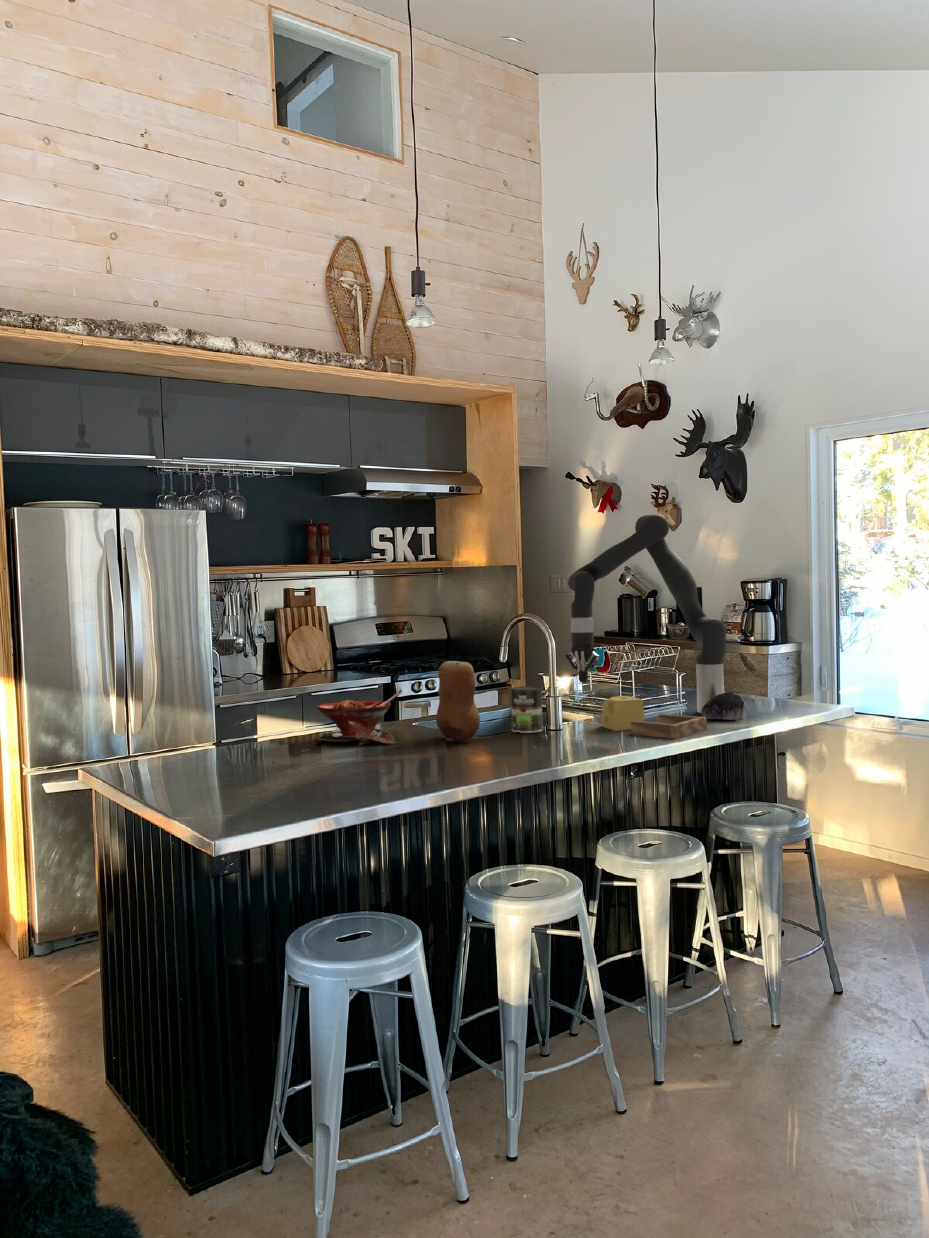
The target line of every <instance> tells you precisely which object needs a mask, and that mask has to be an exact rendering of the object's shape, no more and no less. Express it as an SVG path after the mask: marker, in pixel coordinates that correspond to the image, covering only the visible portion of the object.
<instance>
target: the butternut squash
mask: <svg viewBox="0 0 929 1238" xmlns="http://www.w3.org/2000/svg"><path fill="white" fill-rule="evenodd" d="M437 675H438V680H439V682H438V684H439V686H438V691H437V693H438V697H439V699H438V701H439V704H438V706H437V707H438V708H437V711H436V716H435V723H436V726H437V728H438V729H439V732H440V734H442V736H444V737H445V738H447V739H452V740H454V741H455V740H456V742H465V741H466V740H468V739H471V738H473V737H474V736H475V735H476V734H477V731H478V730H479V729H480V725H481V724H480V723H481V717H480V713H479V710H478V708H477V706H476V703H475V691H476V679H475V671H474V667H473V666H472V664H471V663H470V662H466V661H457V660H452V661H451V660H447V661H444V662H443V663H442V664H441V665H440V667H439V669H438V673H437ZM464 740H465V741H464Z"/></svg>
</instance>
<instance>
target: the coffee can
mask: <svg viewBox="0 0 929 1238" xmlns="http://www.w3.org/2000/svg"><path fill="white" fill-rule="evenodd" d="M509 690H510V703H511V704H510V708H511V732H512V733H516V732H520V733H519V734H533V733H534V734H535V733H540V732H543V731H544V729H543V697H542V694H543V692H542V690H543V687H540V686H531V685H529V686H513V687H511V688H510V689H509Z"/></svg>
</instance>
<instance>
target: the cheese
mask: <svg viewBox="0 0 929 1238" xmlns="http://www.w3.org/2000/svg"><path fill="white" fill-rule="evenodd" d="M644 710H645V708H644V702H643V700H642V698H637V697H634V696H630V695H618V696H616V695H615V696H611V697H609V698H605V700H604V702H603V703H602V705H601V712H602V716H601V717H600V718H601V719H600V723H601V727H602V728H605V729H608V730H611V731H614V732H619V731H631V730H630V729H631V722H632V721H643V722H645V719H644V718H645V712H644Z"/></svg>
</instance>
